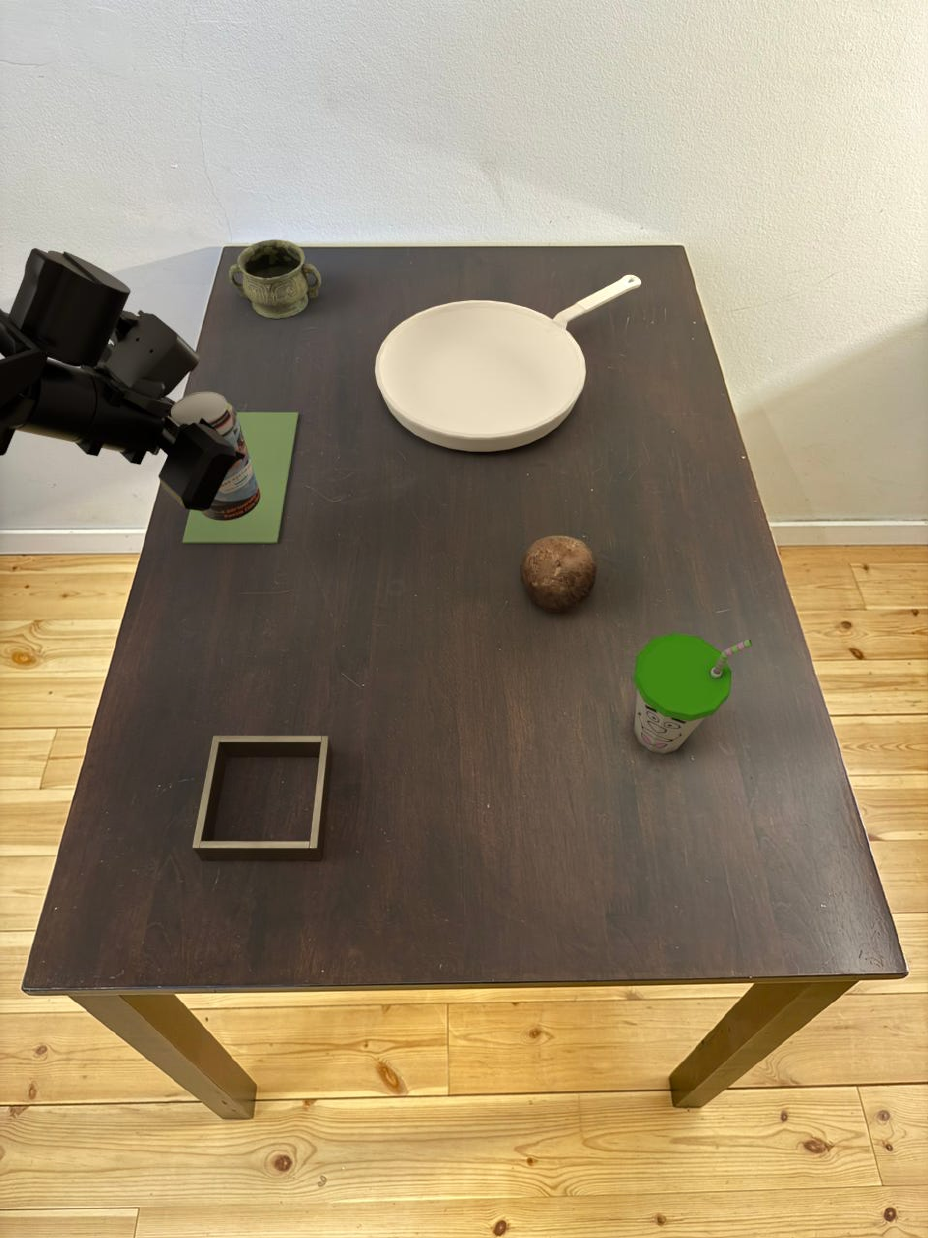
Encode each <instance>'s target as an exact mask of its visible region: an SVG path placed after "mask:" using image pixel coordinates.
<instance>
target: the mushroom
mask: <svg viewBox="0 0 928 1238" xmlns="http://www.w3.org/2000/svg"><path fill="white" fill-rule="evenodd" d="M595 559H596V558H595V556H594V552H593V551H592V550H591V549H590V548H589V547H588V546H587V545H586V544H585V543H584V541H583V540H580V539H576V538H575V537H572V536H570V535H549V536H546V537H542V538H540V539H538V540H537V539H536V540H535V541H534V543H532V544H531V546H530V547H528V549H527V550H525V551H524V554H523V557H522V560H521V563H520V565H519V569H520V571H519V573H520V583H521V584H522V587H523V589H524V592H525V594H526V595H527V596H528V597H529V598H530V599H531V600H532V601H533V603H535V604H536V605H537V606H538V607H541V608H542V609H543V610H545V611H547V612H548V613H567V612H569V611H571V610H574V609H576V608H579V607H581V605H582V604H583V603H585V601H586V600H587V599H588V598H589V597H590V595H591V593H592V591H593V589H594V586H595V584H596V582H597V581H596V580H597V571H598V570H597V568H598V565H597V563H596V560H595Z"/></svg>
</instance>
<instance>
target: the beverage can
mask: <svg viewBox="0 0 928 1238" xmlns="http://www.w3.org/2000/svg"><path fill="white" fill-rule="evenodd" d="M175 402H176V403H175V404H174V406H173V407H172V409H171V418H172V419H173V420H174V421H175V422H176V423H177V424H178V425H179V426H181V425H182V424H184V423H186V424H191V423H193V422H196V423H199V421H200V419H201V418H203V419H204V420H205V421H206V422H208V423H209V424H210V425H211V426H212V427H213V428H215V429H216V430H217V431H218V432H219V434H220V435H221V436H222V437H224V438H225V439H226V440H227V441H228V442H229V443H230V444H232V445H233V446H234V447H235V450H237V451H239V452H242V453H244V454H245V457H244V459H240V460H238V461H237V462H236V463H235V464H234V465H233V466H232V468H231V469H229V471H228V473H227V475H226V477H225V479H224V481H223V483H222V485H221V487H220V489H219V491H218V493H217V495H216V497H215V499H214V501H213V502H212V504H211V506H210V508H209V509H208V510H205V511H201V513H202V514H203V515H204V516H206V517H207V518H210V519H213V520H219V521H231V520H236V519H239V518H241V517H243V516H245V515H247V514H248V513H249V512H251V511H252V510H253V509H254V508H255V507H256V506H257V504H258V503H259V501H260V490H259V487H258V484H257V480H256V477H255V474H254V470H253V467H252V463H251V460H250V457H249V453H248V450H247V447H246V443H245V440H244V436H243V433H242V430H241V426H240V423H239V419H238V416H237V413H236V412H237V410H236V409H235V407H234V406H233V405H232V404H230V403H229V402H228V401H227V399H226V398H225V396H223V395H222V394H220V393H219V392H213V391H198V392H194V393H191V394H187V395H185V396H183V397H181V398H179V399H178V400H177V401H175Z"/></svg>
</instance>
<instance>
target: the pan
mask: <svg viewBox="0 0 928 1238" xmlns="http://www.w3.org/2000/svg"><path fill="white" fill-rule="evenodd" d="M641 284H642V282H641V279H640V277H638V276H636V275H633V274H627V275H623V277H622V278H620V279H619V280H617V281H615V282H613V283H612V284H610V285H607V286H606V287H604V288H602V289H600V290H598V291H596V292H594V293H592V294H590V295H588V296H586V297H585V298H583V299H580V300H578V301H577V302H575V303H574V304H573V305H571V306H570V307H567V308H565V309H564V310H561V311H560V312H558V313H556V315H554V317H553V318H551V317H549V316H547V315H545V314H544V313H541V312H539V311H536V310H534V309H532V308H529V307H525V306H522V305H518V304H514V303H511V302H506V301H505V302H504V301H496V300H481V299H480V300H477V299H476V300H470V299H469V300H461V301H453V302H448V303H444V304H440V305H435V306H432V307H430V308H427V309H424V310H422V311H419V312H417V313H415V314H414V315H411V316H410V317H408V318H407V319H405V320H403V321H402V322H400V323H399V324H398V325H397V326H396V327H394V329H392V330H391V331H390V332H389V334H388V335H387V336H386V337H385V339H384V340H383V342H382V343H381V345H380V347H379V350H378V352H377V354H376V357H375V365H374V366H375V367H374V373H375V380H376V384H377V387H378V389H379V391H380V393H381V397H382V398H383V400H384V402H385V404H386V406H387V408H388V410H389V411H390V413H391V414H392V416H394V417H395V419H396V420H397V421H398V422H399V423H400V425H402V426H403V427H404V428H406V429H407V430H408V431H410V432H411V433H412V434H413V435H415V436H416V437H419V438H420V439H423V440H424V441H427V442H429V443H431V444H434V445H437V446H441V447H444V448H446V449H447V448H448V449H451V450H457V451H465V452H479V453H480V452H481V453H482V452H483V453H484V452H488V453H489V452H497V451H506V450H511V449H515V448H518V447H521V446H525V445H528V444H531V443H533V442H535V441H537V440H539V439H541V438H544V437H545V436H547V435H548V434H549V433H551V432H552V431H553V430H555V429H557V428H559V426H560V425H561V424H562V422H563V421H564V420H565V419H566V418H567V417H568V416H569V415H570V413H571V412H572V410H573V408H574V406H575V404H576V402H577V400H578V399H579V396H580V394H581V392H582V391H583V388H584V386H585V380H586V376H587V374H586V373H587V370H586V369H587V368H586V361H585V356H584V354H583V352H582V349H581V347H580V345H579V343H577V341H576V339H575V338H574V336H573V335H572V334H571V333H570V332H569V331H568V330H567V326H568V323H569V322H570V321H572V320H575V319H576V318H578V317H580V316H582V315H584V314H587V313H589V312H592V311H594V310H595V309H597V308H599V307H601V306H603V305H604V304H607V303H609V302H610V301H612V300H614V299H617V298H618V297H620V296H622V295H623V294H625V293H627V292H629V291H632V290H636V289H638V288H639V287H640V286H641Z"/></svg>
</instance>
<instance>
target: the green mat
mask: <svg viewBox="0 0 928 1238" xmlns="http://www.w3.org/2000/svg"><path fill="white" fill-rule="evenodd" d="M236 413H237V416H238V419H239V423H240V426H241V430H242V433H243V436H244V440H245V443H246V447H247V450H248V453H249V457H250V460H251V463H252V467H253V470H254V474H255V477H256V480H257V484H258V487H259V490H260V501H259V503H258V504H257V506H256V507H255V508H254V509H253V510H252V511H251V512H249V513H248V514H247V515H245V516H243V517H241V518H239V519H236V520H231V521H219V520H213V519H210V518H207V517H206V516H204V515H203V514H202V513H201V511H197V510H190V509H189V512H188V516H187V520H186V525H185V529H184V533H183V537H182V541H181V543H182V544H184V545H185V544H187V545H188V544H197V545H198V544H202V545H203V544H205V545H207V544H211V545H212V544H213V545H214V544H217V545H219V544H221V545H225V544H229V545H230V544H231V545H232V544H237V545H238V544H240V545H241V544H242V545H243V544H244V545H246V544H247V545H250V544H252V545H257V544H259V545H272V544H273V545H277V544H278V543H279V537H280V535H279V534H280V530H281V523H282V518H283V512H284V505H285V499H286V493H287V487H288V481H289V475H290V469H291V463H292V457H293V451H294V446H295V445H294V444H295V438H296V433H297V427H298V419H299V412H298V411H296V412H295V411H294V412H293V411H291V412H289V411H287V412H286V411H284V412H280V411H278V412H277V411H273V412H272V411H271V412H269V411H267V412H265V411H262V412H261V411H259V412H257V411H252V412H251V411H249V412H248V411H243V412H242V411H236Z"/></svg>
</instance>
